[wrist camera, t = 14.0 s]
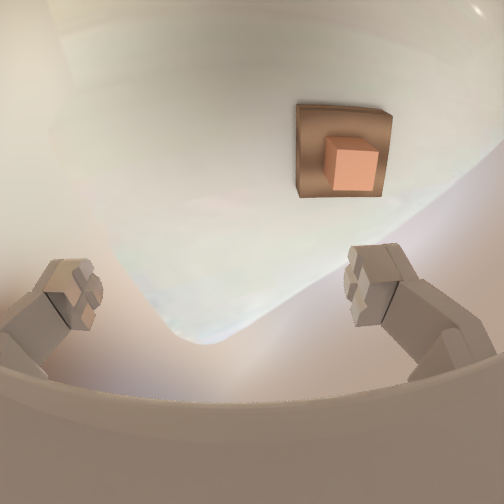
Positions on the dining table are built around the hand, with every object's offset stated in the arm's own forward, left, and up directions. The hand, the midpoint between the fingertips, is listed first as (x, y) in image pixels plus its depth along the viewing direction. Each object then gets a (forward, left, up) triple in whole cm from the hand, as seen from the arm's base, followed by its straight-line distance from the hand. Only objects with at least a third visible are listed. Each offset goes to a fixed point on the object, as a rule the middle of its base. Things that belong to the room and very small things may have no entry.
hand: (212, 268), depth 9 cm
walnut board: (+7, +13, -32) cm, 35 cm away
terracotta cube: (+7, +13, -28) cm, 31 cm away
